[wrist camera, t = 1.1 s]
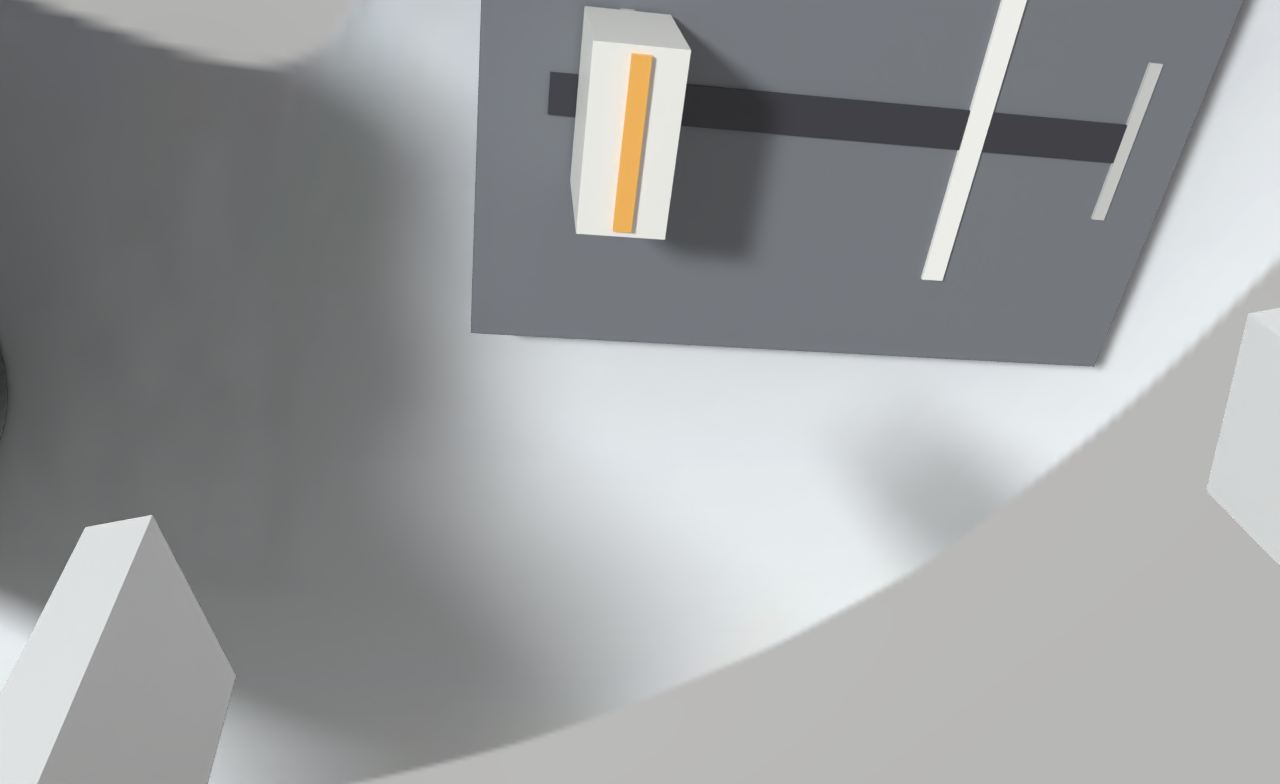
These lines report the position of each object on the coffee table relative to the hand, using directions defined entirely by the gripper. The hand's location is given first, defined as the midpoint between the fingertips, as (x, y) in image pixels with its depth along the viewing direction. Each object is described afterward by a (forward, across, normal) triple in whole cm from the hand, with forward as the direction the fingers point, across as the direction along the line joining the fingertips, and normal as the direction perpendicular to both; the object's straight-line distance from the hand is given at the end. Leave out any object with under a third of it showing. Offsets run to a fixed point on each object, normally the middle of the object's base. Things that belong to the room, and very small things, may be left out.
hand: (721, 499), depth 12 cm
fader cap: (+19, +1, -1) cm, 19 cm away
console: (+21, +8, -3) cm, 23 cm away
